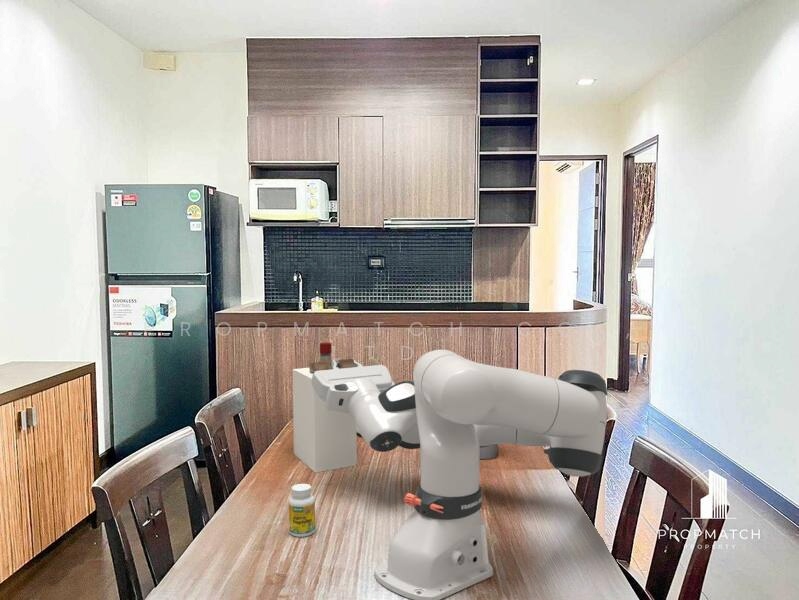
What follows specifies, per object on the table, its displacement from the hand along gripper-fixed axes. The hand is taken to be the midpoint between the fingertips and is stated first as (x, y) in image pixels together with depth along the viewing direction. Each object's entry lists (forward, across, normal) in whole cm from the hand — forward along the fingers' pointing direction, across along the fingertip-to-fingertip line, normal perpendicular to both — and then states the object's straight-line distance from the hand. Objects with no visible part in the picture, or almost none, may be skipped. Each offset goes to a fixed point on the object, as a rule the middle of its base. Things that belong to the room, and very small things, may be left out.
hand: (342, 361), depth 156 cm
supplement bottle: (-38, +21, +13) cm, 46 cm away
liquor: (+15, -9, +44) cm, 47 cm away
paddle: (+3, 0, +5) cm, 6 cm away
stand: (-3, 0, +33) cm, 33 cm away
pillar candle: (-19, -41, +24) cm, 52 cm away
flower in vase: (+11, -23, +42) cm, 49 cm away
